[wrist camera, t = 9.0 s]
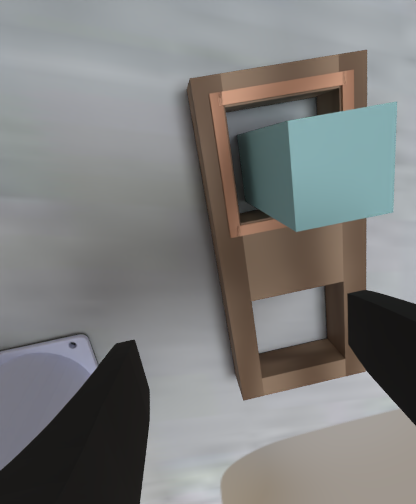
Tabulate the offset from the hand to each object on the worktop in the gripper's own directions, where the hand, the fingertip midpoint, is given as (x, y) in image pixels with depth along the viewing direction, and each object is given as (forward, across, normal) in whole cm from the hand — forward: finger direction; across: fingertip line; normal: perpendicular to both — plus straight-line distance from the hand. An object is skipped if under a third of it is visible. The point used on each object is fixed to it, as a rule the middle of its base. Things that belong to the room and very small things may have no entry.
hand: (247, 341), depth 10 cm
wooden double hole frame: (+10, -5, +1) cm, 12 cm away
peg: (+10, -5, -5) cm, 12 cm away
